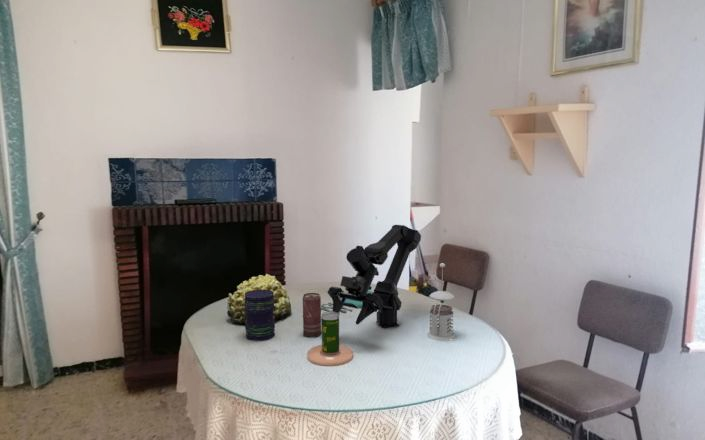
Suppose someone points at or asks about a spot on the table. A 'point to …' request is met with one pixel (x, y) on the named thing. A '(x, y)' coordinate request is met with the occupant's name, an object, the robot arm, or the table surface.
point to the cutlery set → (347, 301)
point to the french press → (441, 316)
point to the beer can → (330, 333)
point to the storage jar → (259, 315)
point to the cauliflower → (256, 283)
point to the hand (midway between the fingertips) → (344, 321)
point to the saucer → (330, 356)
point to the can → (311, 314)
